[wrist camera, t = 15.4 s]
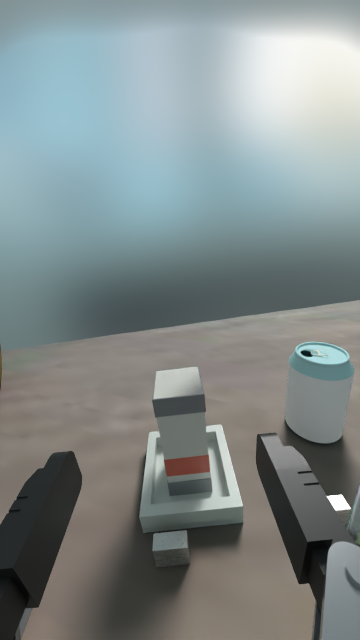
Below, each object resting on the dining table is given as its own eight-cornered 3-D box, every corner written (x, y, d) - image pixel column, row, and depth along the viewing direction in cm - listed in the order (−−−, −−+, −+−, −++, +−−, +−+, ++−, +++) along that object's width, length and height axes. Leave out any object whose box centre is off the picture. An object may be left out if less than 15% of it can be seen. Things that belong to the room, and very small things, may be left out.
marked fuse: (169, 496, 24) (152, 399, 20) (170, 456, 29) (155, 370, 24) (212, 491, 24) (204, 394, 20) (206, 452, 29) (198, 365, 24)
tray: (143, 533, 22) (139, 517, 21) (151, 445, 32) (149, 432, 31) (243, 522, 22) (243, 506, 21) (222, 438, 32) (221, 424, 31)
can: (317, 456, 28) (329, 374, 24) (274, 418, 34) (277, 348, 30) (354, 433, 30) (371, 355, 26) (307, 402, 36) (315, 335, 32)
